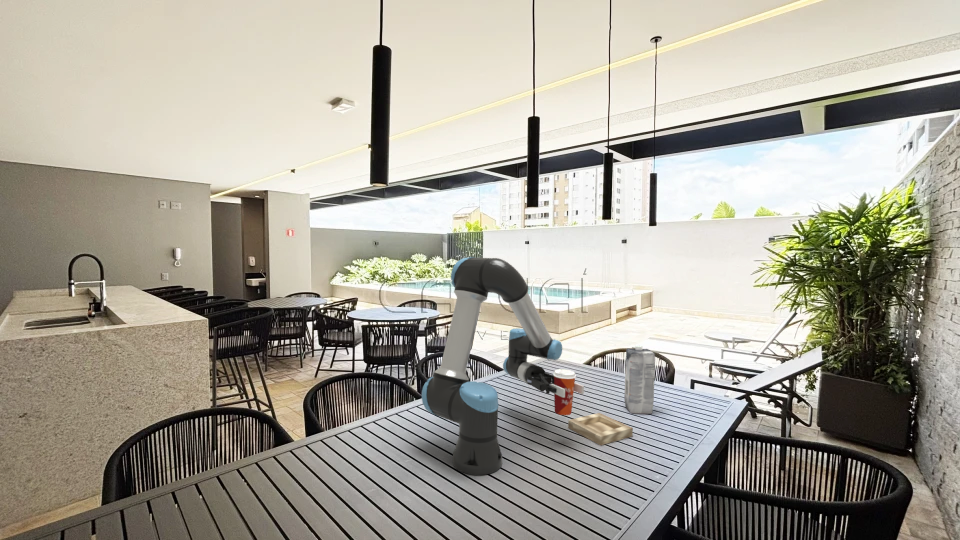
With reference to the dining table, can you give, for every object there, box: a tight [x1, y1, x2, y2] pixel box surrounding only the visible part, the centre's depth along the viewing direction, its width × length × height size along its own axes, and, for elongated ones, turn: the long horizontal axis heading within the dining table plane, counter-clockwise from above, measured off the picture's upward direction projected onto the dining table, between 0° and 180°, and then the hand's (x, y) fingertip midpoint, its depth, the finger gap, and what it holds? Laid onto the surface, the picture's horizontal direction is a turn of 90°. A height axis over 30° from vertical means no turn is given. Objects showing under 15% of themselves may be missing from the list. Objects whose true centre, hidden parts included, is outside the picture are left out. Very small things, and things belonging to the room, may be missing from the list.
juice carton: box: [623, 345, 656, 415], centre depth 172 cm, size 9×10×27 cm
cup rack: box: [567, 412, 634, 446], centre depth 150 cm, size 16×16×3 cm
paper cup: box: [552, 368, 577, 416], centre depth 141 cm, size 8×8×14 cm
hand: (573, 391), depth 136 cm, fingers closed on paper cup, 8 cm apart
